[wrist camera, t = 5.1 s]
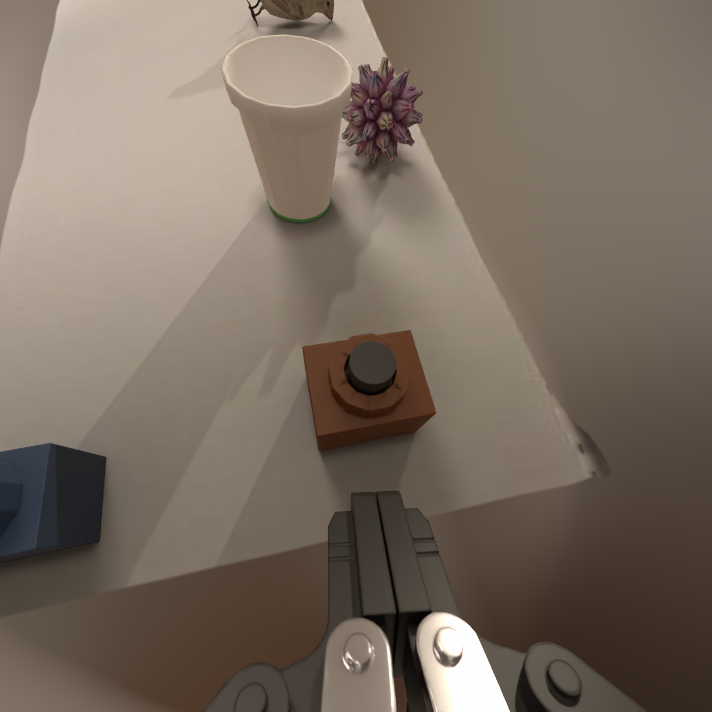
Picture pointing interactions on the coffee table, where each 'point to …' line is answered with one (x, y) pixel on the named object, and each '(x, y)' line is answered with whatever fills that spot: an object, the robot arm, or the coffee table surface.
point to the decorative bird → (295, 8)
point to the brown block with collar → (360, 409)
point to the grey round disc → (371, 366)
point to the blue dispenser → (48, 499)
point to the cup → (291, 117)
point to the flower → (380, 112)
